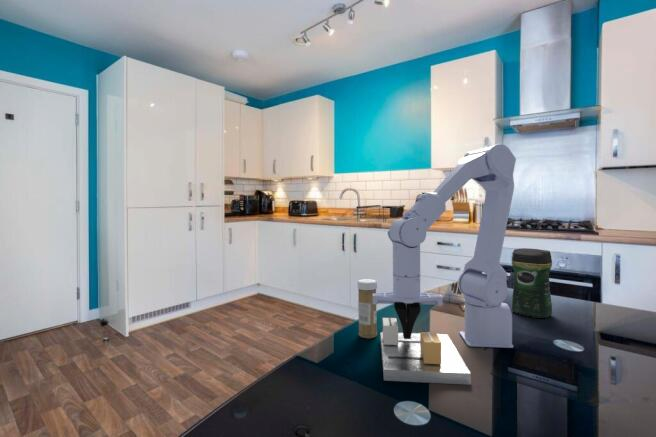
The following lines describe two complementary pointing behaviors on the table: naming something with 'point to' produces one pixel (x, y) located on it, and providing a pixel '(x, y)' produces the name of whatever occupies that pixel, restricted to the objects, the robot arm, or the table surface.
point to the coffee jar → (531, 282)
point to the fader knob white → (390, 331)
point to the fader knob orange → (430, 348)
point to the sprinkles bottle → (367, 308)
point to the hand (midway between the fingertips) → (406, 337)
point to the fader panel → (410, 366)
